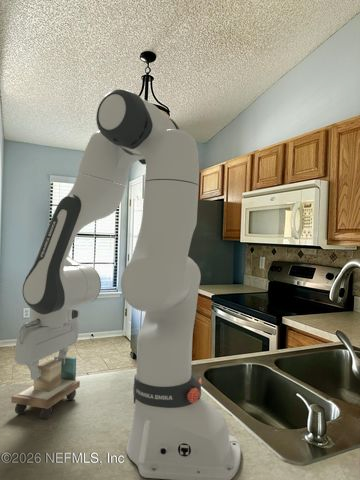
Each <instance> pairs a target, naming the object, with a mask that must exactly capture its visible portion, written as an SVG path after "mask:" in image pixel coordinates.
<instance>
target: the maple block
mask: <svg viewBox="0 0 360 480" xmlns="http://www.w3.org/2000/svg"><path fill="white" fill-rule="evenodd" d="M37 367H38V370H41V377H40V378H38V379H36V380H35V379H33V384H34V390H39V391H46V392H50V391H52V390H53V389H55V388H57V387H58V386H60V385H61V361H56V360H54V359H48V358H46V359H44V360H42V361H39V364H38V365H37Z"/></svg>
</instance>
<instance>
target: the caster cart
mask: <svg viewBox="0 0 360 480" xmlns="http://www.w3.org/2000/svg"><path fill="white" fill-rule="evenodd" d="M57 358H58V355H56V356H55V355H54V357H53V360H56V359H57ZM76 375H77V357H73V356H66V357H65V364H64V365H62V366H61V385H60V386H58V387H57V388H55V389H53V390H52V391H50V392H46V391H39V390H34V383H33V384H31V385H29V386H27V387H25V388H23V389H22V390H20V391H19V392H16V393H15V394H13V395H11V401H10V403H12V404H16V405H15V408H14V412H15V413H16V414H18V415H23V414H24V413H25V412H26V410H27V407H28V406H29V407H35V408H41V410H40V414H39V415H40V418H41V419H46V420H47V419H48V418H50V417H51V414H52V411H53V407H52V406H54V405H56V404H57V403H58V402H60V401H62V400H63V399H64V398H66V400H69V401H73V400H74V399H75V397H76V394H77V389H78V388H80V386H81V385H80V384H81V383H80V382H81V381H80V380H76V378H77V376H76Z"/></svg>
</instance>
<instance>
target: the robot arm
mask: <svg viewBox="0 0 360 480" xmlns="http://www.w3.org/2000/svg"><path fill="white" fill-rule="evenodd" d="M95 121H96V125H97V129H98V131H96V132H94V133H93V134H92V135H91V137H90V138H89V141H88V142H87V145H86V148H85V149H84V152H83V156H82V157H81V160H80V161H81V162H80V164H79V167H78V171H77V175H76V178H75V182H74V184H73V186H72V187H71V189H70V191H69V192H68V194H67V195H66V196H65V197H63V198H62V199H61V200H60V201H59V202H58V205H57V206H56V208H55V210H54V213H53V214H52V216H51V220H50V222H49V223H48V227H47V230H46V231H45V232H46V233H45V235H44V238H43V240H42V243H41V246H40V248H39V251H38V254H37V255H35V258H34V261H33V264H32V267H31V268H30V270H29V271H28V273H27V275H26V277H25V279H24V281H23V285H22V297H23V299H24V301H25V303H26V304H27V306H28V307H29V308H30V321H28V322H25V323H23V325H22V326H21V328H20V329H19V330H18V334H17V336H16V340H15V341H16V342H15V348H14V362H15V363H16V364H17V365H23V366H27V367H28V370H29V371H30V379H31V380H34V379H35V380H36V379H38V378H40V377H41V370H38V367H37V365H38V364H39V362H40V360H43V359H44V358H46V357H49V356H51V355H53V354H56V353H58V355H57V356H58V358H57V359H56V361H61V366H62V365H64V364H65V357H67V354H68V352H69V347H71V346H73V345H75V344H76V343H77V340H78V338H79V320H78V318H79V317H80V310H79V309H77V308H75V307H78V306H83V305H87V304H90V303H92V302H94V301H96V300H97V299H98V297H99V294H100V292H101V289H102V283H101V277H100V275H99V272H98V271H97V270H96V269H95V268H94V267H92V266H88V265H85V264H83V263H80V262H78V261H76V260H74V259H73V258H71V256H70V255H69V254H70V251H71V249H72V246H73V245H74V241H75V239H76V237H77V235H78V233H79V232H80V231H81V230H82V229H83V228H85V227H86V226H87V225H89V224H91V223H93V222H96V221H98V220H101V219H105V218H107V217H109V216H111V215H112V214H114V213H115V211H116V212H117V210H118V208H119V206H120V204H121V202H122V200H123V197H124V192H125V189H126V186H127V181H128V177H129V172H130V169H131V168H132V166H133V164H134V163H136V162H137V161H138V162H139V163H140V164H142V165H145V175H144V176H145V177H144V178H145V179H144V188H143V190H144V191H143V201H142V202H143V203H142V217H141V223H140V229H139V232H138V236H137V239H136V243H135V247H134V250H133V253H132V255H131V258H130V261H129V263H128V264H127V265H126V267H125V268H124V269H123V271H122V275H121V277H120V289H121V293H122V296H123V298H124V299H125V302H126V303H127V304H128V305H129V306H130V307H132V308H133V309H135V310H137V311H140V312H145V314H144V317H143V320H142V321H143V322H142V325H141V328H140V330H139V332H138V334H137V339H136V340H137V341H136V374H134V380H133V389H132V390H133V391H132V392H133V403H134V411H133V415H132V416H133V418H132V424H131V429H130V432H129V437H128V441H127V444H126V446H125V447H126V450H125V451H126V454H127V456H128V459H129V460H131V461H132V462H133V463H134V464H135V465H136V466H137V468H138V472H139V474H140V475H141V477H143V478H146V479H161V480H232V479H233V478H234V477H235V475H236V474H237V472H238V471H239V468H240V464H241V459H242V454H241V453H242V452H241V445H240V443H239V441H238V439H237V438H236V437H235V436H234V435H231V434H230V433H229V428H228V427H229V426H228V423H227V419H226V417H225V415H224V414H223V413H221V412H220V411H219V410H218V409H217V408H216V407H215V406H213V405H212V404H211V403H210V402H209V401H208V400H206V399H205V398H204V397H203V396H202V377H200V378H199V380H197V378H196V377H194V375H193V374H192V361H193V360H192V359H193V358H192V354H193V352H192V351H193V333H194V326H195V319H196V315H197V308H198V307H197V305H198V298H199V297H198V296H199V288H200V284H201V277H202V274H201V270H200V267H199V265H198V264H197V263H196V262H195V261H194V260H193V258H191V257H190V256H188V255H189V252H190V246H191V243H192V238H193V234H194V231H195V229H196V226H197V222H198V221H197V220H198V207H199V206H198V203H199V192H200V191H199V189H200V188H199V187H200V166H199V165H200V163H199V152H198V151H199V150H198V144H197V142H196V139H195V138H194V137H193V136H192V135H191V134H190V133H188V132H187V131H184V130H182V129H181V128H180V127H179V126H178V125H177V123H176V121H174V120H173V119H172V118H171V117H169V116H168V115H166V114H165V113H164V112H163V111H161V110H160V109H159V108H158V106H156V105H155V104H153V103H151V102H149V101H148V100H146V99H144V98H142V97H141V96H140V95H138V93H135V92H133V91H130V90H126V89H121V88H118V89H117V88H116V89H113V90H111V91H110V92H108V93H107V94H105V96H103V98H102V100H101V101H100V103H99V105H98V108H97V111H96V119H95Z"/></svg>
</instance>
